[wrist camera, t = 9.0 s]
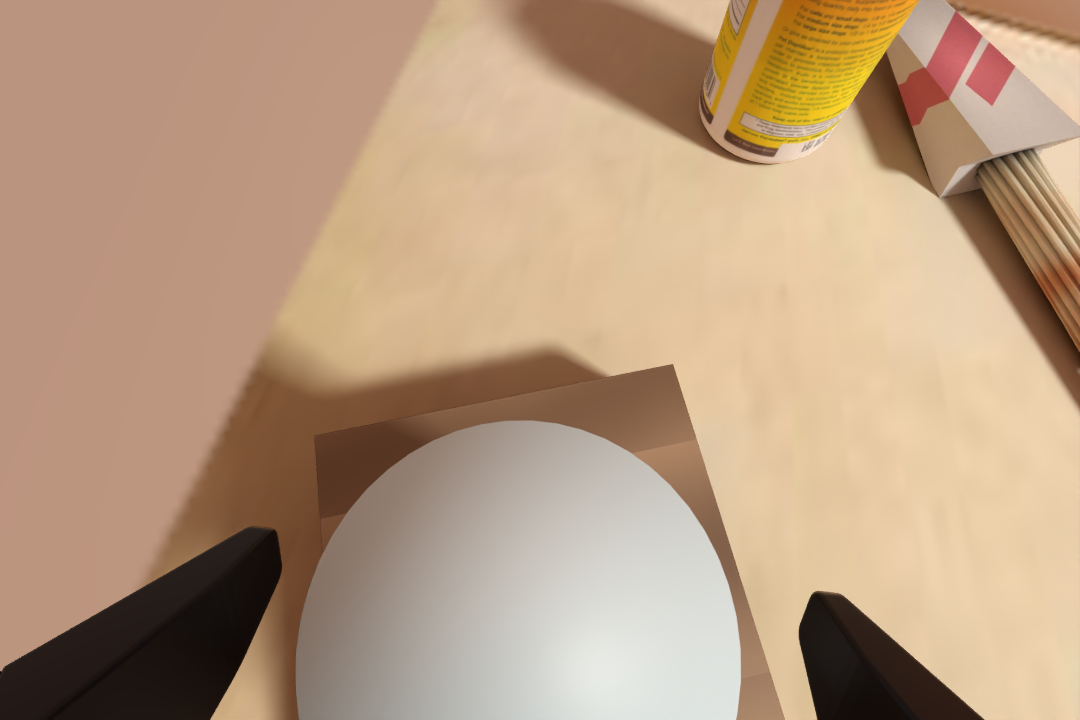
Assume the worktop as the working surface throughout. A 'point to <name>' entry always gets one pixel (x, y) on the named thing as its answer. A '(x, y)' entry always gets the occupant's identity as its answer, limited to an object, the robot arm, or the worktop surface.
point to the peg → (519, 590)
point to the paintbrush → (991, 141)
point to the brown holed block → (593, 406)
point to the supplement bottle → (792, 71)
